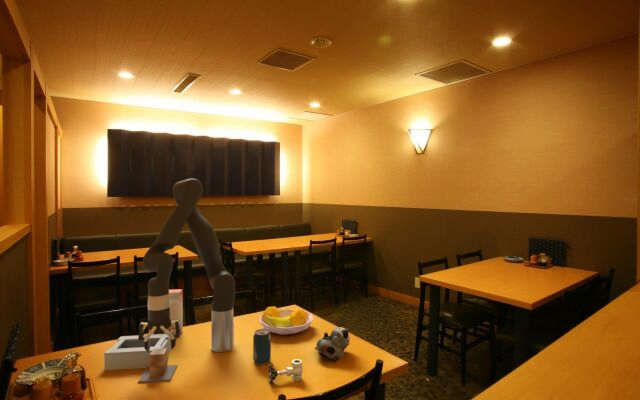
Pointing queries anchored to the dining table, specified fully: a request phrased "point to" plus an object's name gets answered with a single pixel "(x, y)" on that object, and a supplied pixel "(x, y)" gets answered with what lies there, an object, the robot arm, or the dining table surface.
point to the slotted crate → (133, 352)
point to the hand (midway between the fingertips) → (160, 349)
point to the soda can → (261, 346)
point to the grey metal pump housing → (334, 343)
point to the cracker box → (175, 308)
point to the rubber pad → (166, 377)
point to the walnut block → (158, 362)
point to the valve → (287, 371)
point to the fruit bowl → (285, 320)
